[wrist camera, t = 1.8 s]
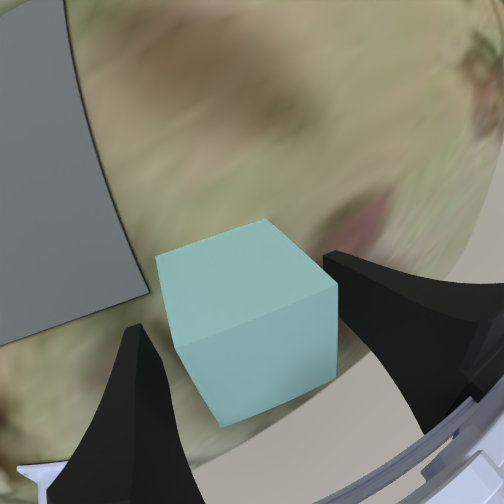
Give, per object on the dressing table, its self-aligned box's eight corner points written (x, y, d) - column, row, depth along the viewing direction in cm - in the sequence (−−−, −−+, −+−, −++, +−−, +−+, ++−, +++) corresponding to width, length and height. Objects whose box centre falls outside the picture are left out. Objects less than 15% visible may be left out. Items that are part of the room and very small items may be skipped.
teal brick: (279, 303, 14) (335, 377, 10) (190, 337, 13) (221, 428, 9) (265, 217, 12) (338, 283, 8) (155, 255, 11) (174, 348, 7)
